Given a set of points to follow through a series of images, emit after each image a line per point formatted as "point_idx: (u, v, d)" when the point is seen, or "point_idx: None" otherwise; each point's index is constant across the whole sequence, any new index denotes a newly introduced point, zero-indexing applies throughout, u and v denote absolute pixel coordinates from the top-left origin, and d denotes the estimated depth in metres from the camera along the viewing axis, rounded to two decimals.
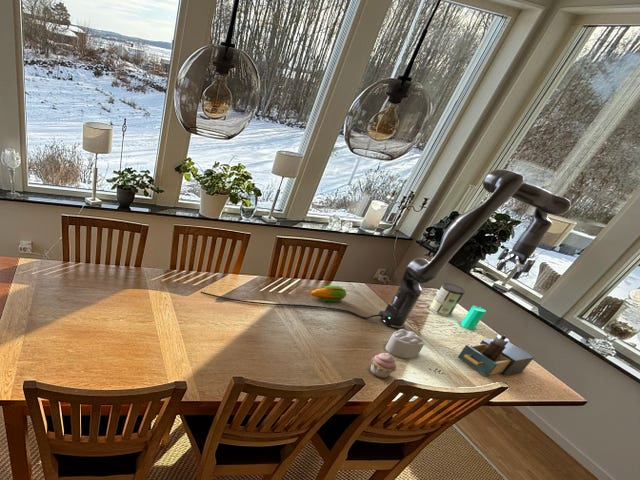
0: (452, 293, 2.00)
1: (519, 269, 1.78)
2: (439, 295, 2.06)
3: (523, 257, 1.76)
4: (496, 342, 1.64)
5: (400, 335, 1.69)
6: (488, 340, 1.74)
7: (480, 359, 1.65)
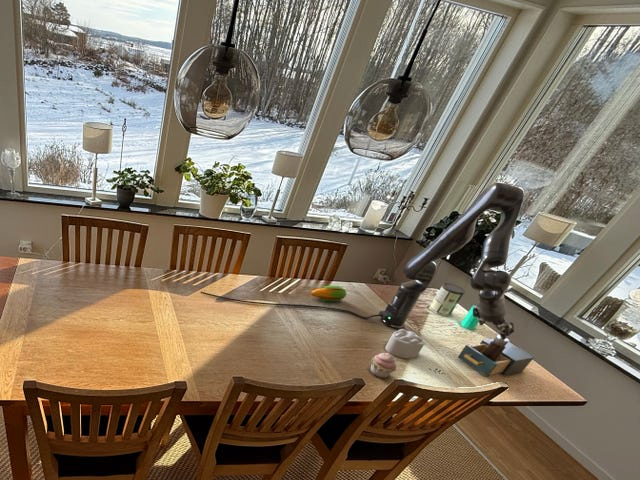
0: (452, 293, 2.00)
1: (502, 332, 1.50)
2: (439, 295, 2.06)
3: (497, 322, 1.48)
4: (496, 342, 1.64)
5: (400, 335, 1.69)
6: (488, 340, 1.74)
7: (480, 359, 1.65)
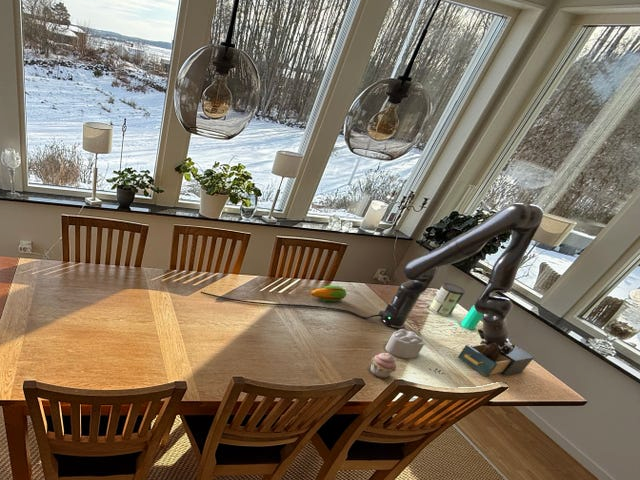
0: (452, 293, 2.00)
1: (502, 350, 1.62)
2: (439, 295, 2.06)
3: (500, 342, 1.58)
4: None
5: (400, 335, 1.69)
6: None
7: (480, 359, 1.65)
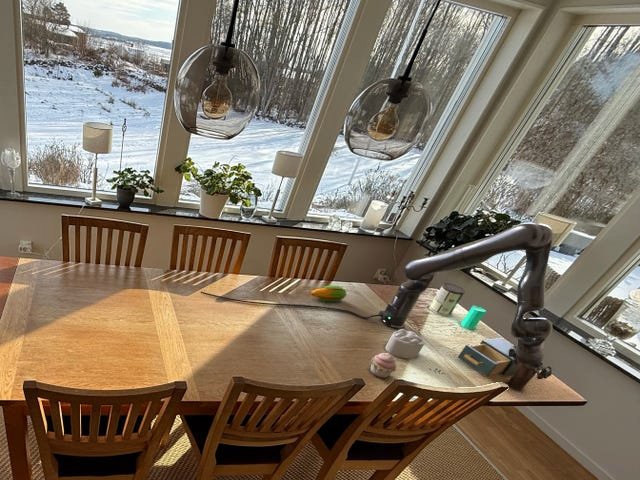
0: (452, 293, 2.00)
1: (539, 374, 1.51)
2: (439, 295, 2.06)
3: (534, 365, 1.50)
4: None
5: (400, 335, 1.69)
6: (488, 340, 1.74)
7: (480, 359, 1.65)
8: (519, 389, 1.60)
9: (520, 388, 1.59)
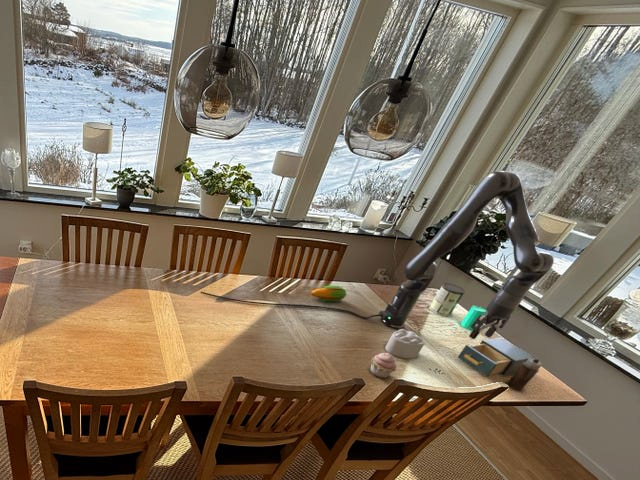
0: (452, 293, 2.00)
1: (498, 327, 1.54)
2: (439, 295, 2.06)
3: None
4: (528, 365, 1.55)
5: (400, 335, 1.69)
6: (488, 340, 1.74)
7: (480, 359, 1.65)
8: (519, 389, 1.60)
9: (520, 388, 1.59)
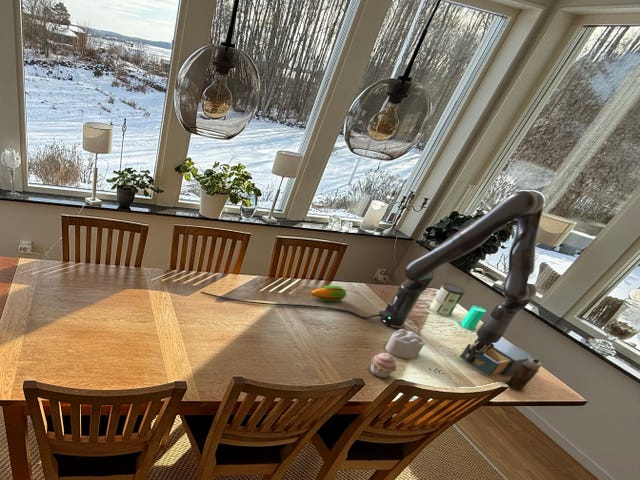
0: (452, 293, 2.00)
1: (479, 354, 1.62)
2: (439, 295, 2.06)
3: None
4: (528, 365, 1.55)
5: (400, 335, 1.69)
6: None
7: (482, 359, 1.66)
8: (519, 389, 1.60)
9: (520, 388, 1.59)
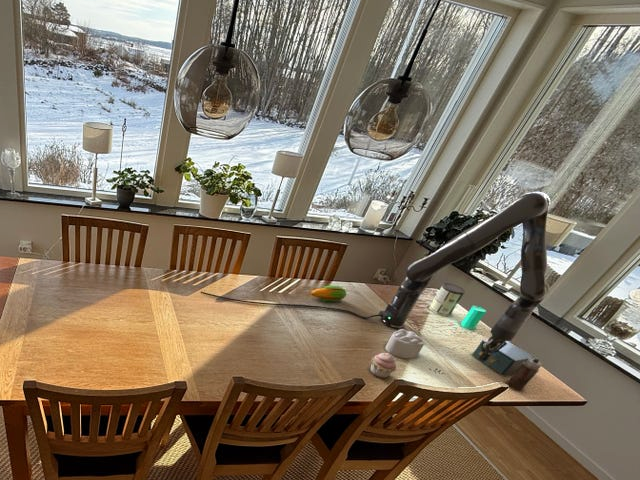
0: (452, 293, 2.00)
1: (492, 352, 1.65)
2: (439, 295, 2.06)
3: None
4: (528, 365, 1.55)
5: (400, 335, 1.69)
6: None
7: (495, 356, 1.68)
8: (519, 389, 1.60)
9: (520, 388, 1.59)
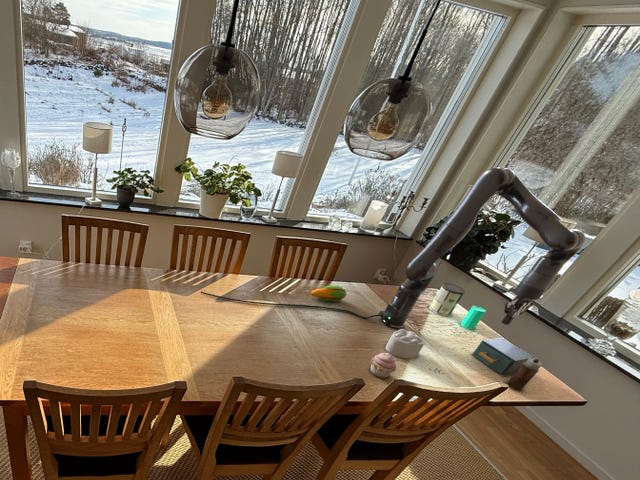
0: (452, 293, 2.00)
1: (517, 314, 1.49)
2: (439, 295, 2.06)
3: (531, 299, 1.46)
4: (528, 365, 1.55)
5: (400, 335, 1.69)
6: (488, 340, 1.74)
7: (495, 356, 1.68)
8: (519, 389, 1.60)
9: (520, 388, 1.59)
